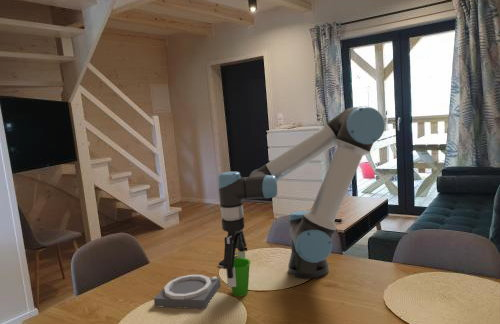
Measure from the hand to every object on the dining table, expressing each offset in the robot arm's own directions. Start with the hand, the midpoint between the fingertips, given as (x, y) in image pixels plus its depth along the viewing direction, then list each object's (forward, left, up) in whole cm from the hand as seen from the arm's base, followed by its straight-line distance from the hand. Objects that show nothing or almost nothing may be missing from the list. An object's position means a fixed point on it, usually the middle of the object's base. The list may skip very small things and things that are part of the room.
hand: (237, 277), depth 127 cm
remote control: (+11, -27, -7) cm, 30 cm away
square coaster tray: (+18, +3, -6) cm, 19 cm away
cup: (0, 0, -6) cm, 6 cm away
